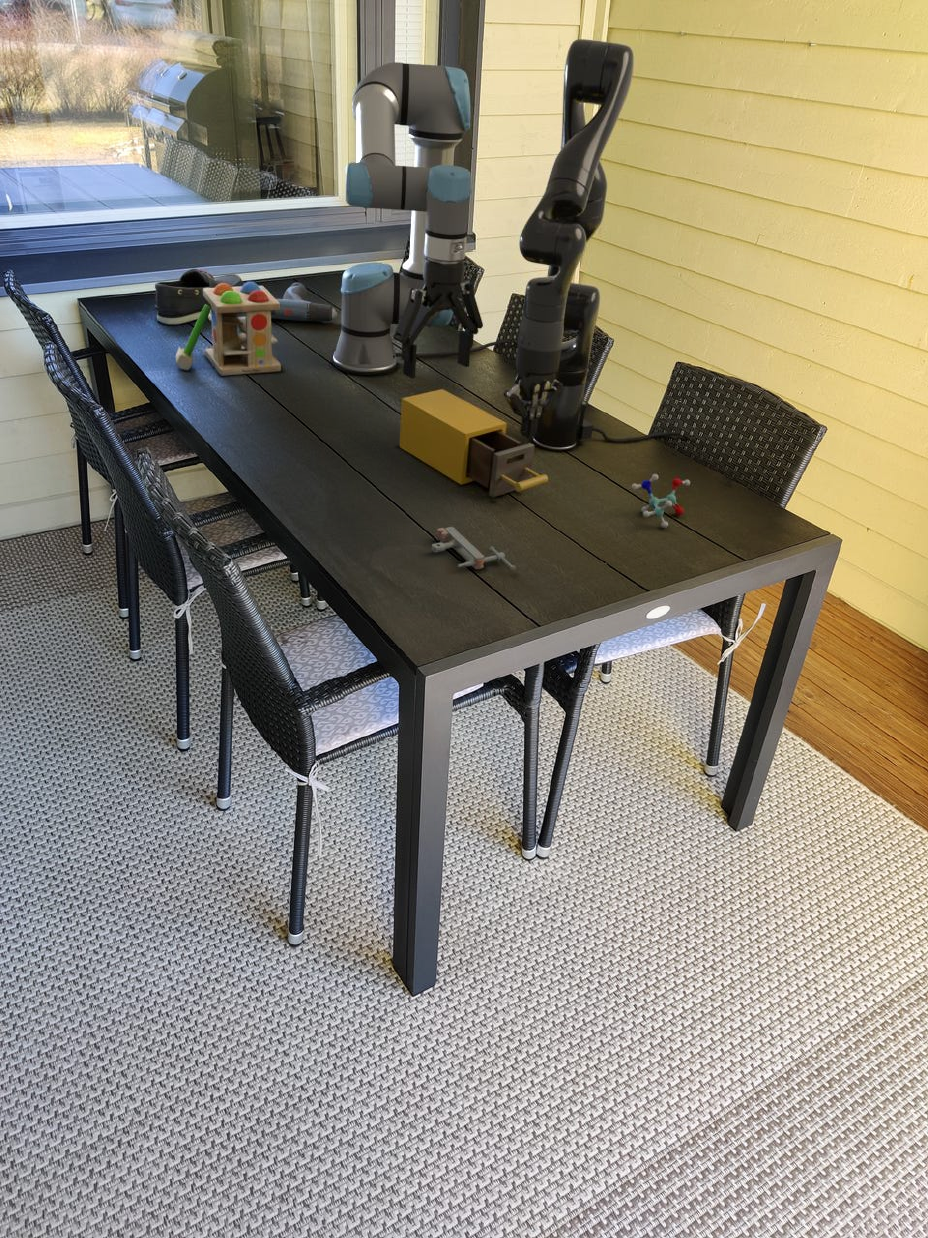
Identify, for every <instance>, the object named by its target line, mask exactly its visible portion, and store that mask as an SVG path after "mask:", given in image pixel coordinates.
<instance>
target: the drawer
mask: <svg viewBox="0 0 928 1238" xmlns="http://www.w3.org/2000/svg"><path fill="white" fill-rule="evenodd" d="M521 443H522V442H521V441H520V440H517V439H515V438H513V437H512V436H510V435H508V434H506V433H505V434H504V433H503V432H501V431H499V430H497V431H493V432H489V433H486V434H482V435H478V436H475V437H471V438H469V446H468V457H467V467H466V475H467V476H468V477H470V478H471V479H473V480H475V482H476V483H478V484H480V485H481V486H483V487H485V488H487V489H489V496H491V497H492V498H496V497H498V496H502V495H505V494H508V493H512V492H514V491H516V492H518V493H520V492H524V491H526V490H530V489H532V488H536V487H539V486H542V485H545V484H547V483H548V482H549V477H548V475H547V474H546V473H542V474H539V473H538V472H536V471H534V470H533V469H532V467H533V460H534V459H533V458H534V451H535V444H533V443H531V442H528V443H525V444H521ZM531 476H532V477H531Z"/></svg>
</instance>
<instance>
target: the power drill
mask: <svg viewBox="0 0 928 1238" xmlns="http://www.w3.org/2000/svg"><path fill="white" fill-rule="evenodd" d="M307 295H308V290H307V287H306V285H304V284H303V283H301V282H293V283H292V284H291V285H290V286H289V287H288V288H287V289H286V291H285V292H284V294H283V297H282V298H275V299H276V300H277V301H278V302H279V303H280V310H271V319H274V320H275V319H276V320H283V321H294V322H295V321H297V322H332V321H333V320H334V319H336V318H337V317H338V312H337V311H336V308H334V307H333V306H332V305H331V304H324V303H317V302H313V301H307V300H305V299H306V297H307Z"/></svg>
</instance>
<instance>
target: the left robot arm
mask: <svg viewBox="0 0 928 1238" xmlns="http://www.w3.org/2000/svg"><path fill="white" fill-rule="evenodd" d="M351 111H352V115H353V119H354V120H355V122H356V149H355V151H356V154H355V157H356V158H355V162H352V161H351V162H349V163H347V165H346V166H345V202H346V204H347V205H349V206H351V207H358V208H364V209H379V210H396V211H397V210H398V211H411V217H410V219H411V220H410V221H411V222H410V237H409V238H410V239H409V240H410V241H409V242H410V244H409V257H408V259H407V260H405V262H403V263H402V267H401V269H402V270H401V272H394V268H393V266H392V265H391V264H388V263H382V262H364V263H358V264H355V265H352V266H351V267H348V268H346V269H345V271H344V272H343V274H342V281H341V287H340V293H341V319H340V321H341V324H340V325H341V326H340V329H341V330H340V336H339V338H338V341H337V344H336V346H335V347H334V348H333V351H332V353H333V361H332V362H333V363H332V364H333V366H334V367H335V368H337V369H338V370H339V371H342V372H344V373H347V374H352V375H356V376H380V375H381V376H382V375H386V374H389V373H391V372H393V371H395V369H396V368H397V361H398V359H397V357H398V358H401V359H402V360H403V373H402V374H403V375H404V376H405V377H408V378H410V379H411V380H413V379H416V367H417V358H432V357H433V358H434V357H445V356H455V355H457V361H456V363H457V364H458V365H461V366H463V367H465V368H469V367H470V357H471V353H475V352H479V351H483V350H484V349H487V348H490V347H494V346H499V345H504V344H509V343H510V344H511V343H513V344H515V345H516V346H517V347H518V344H516V343H515V342H506V340H505V339H502V340H497V341H491V342H488V343H485V344H483V345H480V346H477V347H473V346H474V336H475V335H477V334H479V329H482V328H483V327H484V323H483V320H482V316H481V313H480V310H479V307H478V303H477V300H476V297H475V284H474V282H470V281H468V280H465V279H464V275H465V262H464V261H463V260H464V259H465V258H466V248H467V235H468V231H467V230H468V220H469V211H470V199H471V194H472V187H471V186H472V174H471V171H470V170H469V169H467V168H464V167H462V166H458V165H454V159H455V158H454V157H455V148H456V147H457V145H459V144H460V143H461V142H462V140H463V132H467V131H470V129H471V115H472V114H471V93H470V84H469V78H468V74H467V73H466V71H464V70H463V69H461V68H458V67H453V66H447V65H435V64H419V63H418V64H417V63H407V62H397V61H395V62H388V63H385V64H381V65H379V66H377V67H375V68H374V69H372V70H371V71H370V72H368V73H367V74H365V75H364V77H363V78H362V79H360V81H359V82H358V84H357V85H356V87H355V90H354V92H353V95H352V102H351ZM395 125H397V126H405V127H408V137H409V138H410V139H411V141H412V142H413V143H414V158H413V159H414V160H413V166H407V165H396V131H395V130H396V129H395V127H396V126H395ZM460 295H461V298H462V301H463V304H464V307H465V309H464V308H463V304H462V302H461V300H460V298H459V297H460ZM465 310H466V311H465ZM453 315H454V316H455V318H456V319H457V321H458V322H459V324H460V325H461V327H462V330H459V338H458V339H459V340H458V350H450V351H437V352H429V353H428V352H427V353H426V352H425V353H417V351H418V350H417V349H418V344H416V343H415V341H416V340H417V338H418V337H419V335H420V334H421V332H422V330H423V329H424V328H425V327H428V328H433V327H446V326H447V325H449V324H450V322H451V320H452V318H453ZM391 325H396V329H395V330H394V334H393V336H392V335H391ZM391 336H392V337H391ZM392 338H393V340H395V341H397V342H399V343H401V352H395V347H394V343H393V341H392Z"/></svg>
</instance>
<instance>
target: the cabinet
mask: <svg viewBox="0 0 928 1238" xmlns="http://www.w3.org/2000/svg"><path fill="white" fill-rule="evenodd" d="M507 424H508V423H507V422H505V421H503V420H502V419H499V418H498V417H496V416H494V415H492V414H491V413H489V412H487V411H485V410H483V409H481V408H479V407H478V406H475V405H473V404H471V403H470V402H468V401H466V400H465V399H462V398H461V397H459V396H456V395H454V394H452V393H451V392H450V391H447V390H445V389H444V388H441V389H437V390H433V391H428V392H424V393H420V394H414V395H410V396H405V397H402V398H401V411H400V427H399V428H400V429H399V448H401V449H402V450H403V451H406V452H407V453H409V454H410V455H412V456H413V457H415V458H417V459H419V460H420V461H422V462H423V463H425V464H427V465H428V466H430V467H431V468H433V469H435V470H437V471H438V472H440V473H441V474H443V475H444V476H445V477H448V478H449V479H451V480H453V481H454V482H455V483H458V484H459V485H460V486H461V485H465V484H468V483H471V482H474V481H475V480H473V479H471V478H470V477H468V476H467V475H466V467H467V457H468V446H469V438H471V437H475V436H478V435H482V434H486V433H489V432H493V431H497V430H499V431H501V432H503V433H504V434H506V433H507ZM475 482H476V481H475Z"/></svg>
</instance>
